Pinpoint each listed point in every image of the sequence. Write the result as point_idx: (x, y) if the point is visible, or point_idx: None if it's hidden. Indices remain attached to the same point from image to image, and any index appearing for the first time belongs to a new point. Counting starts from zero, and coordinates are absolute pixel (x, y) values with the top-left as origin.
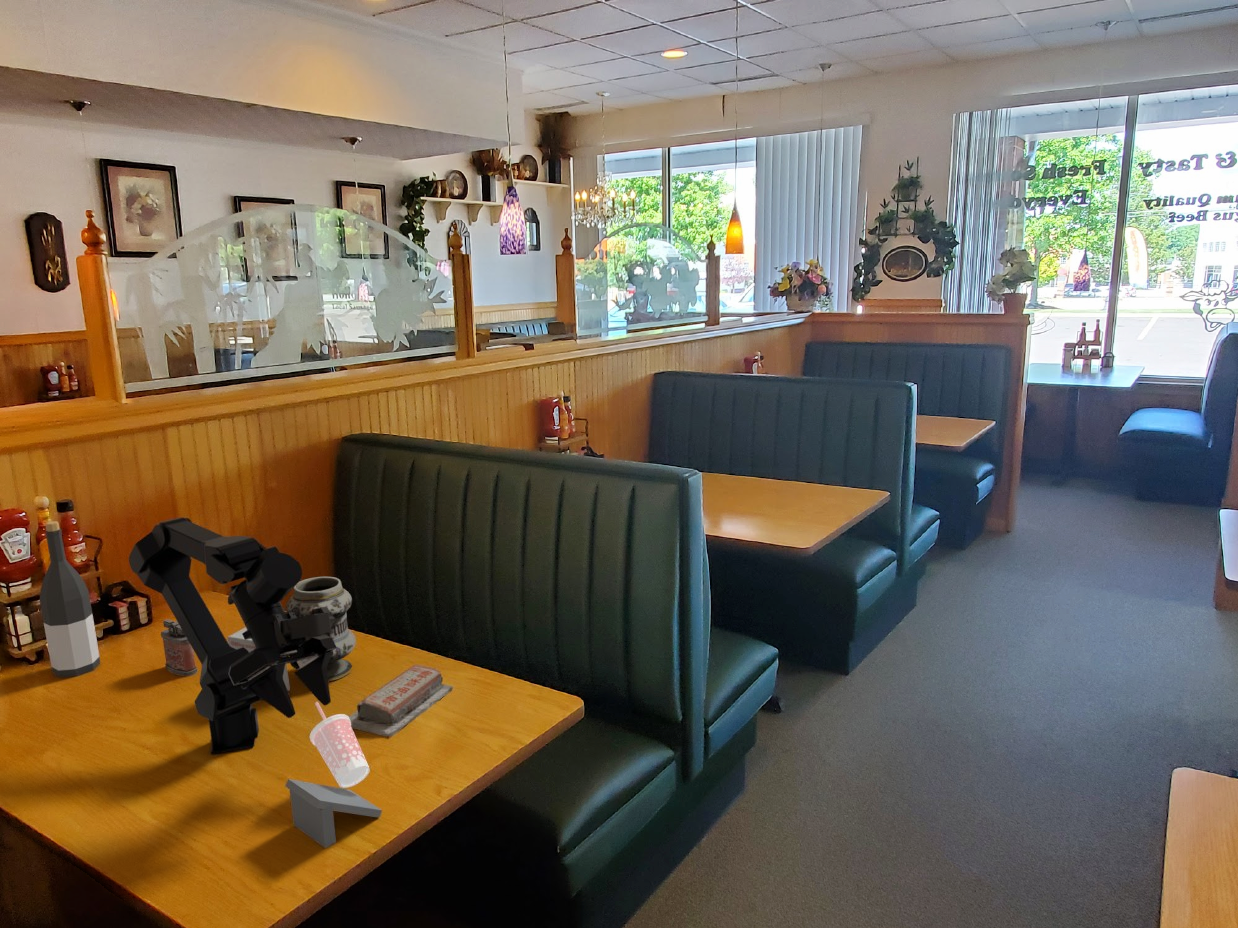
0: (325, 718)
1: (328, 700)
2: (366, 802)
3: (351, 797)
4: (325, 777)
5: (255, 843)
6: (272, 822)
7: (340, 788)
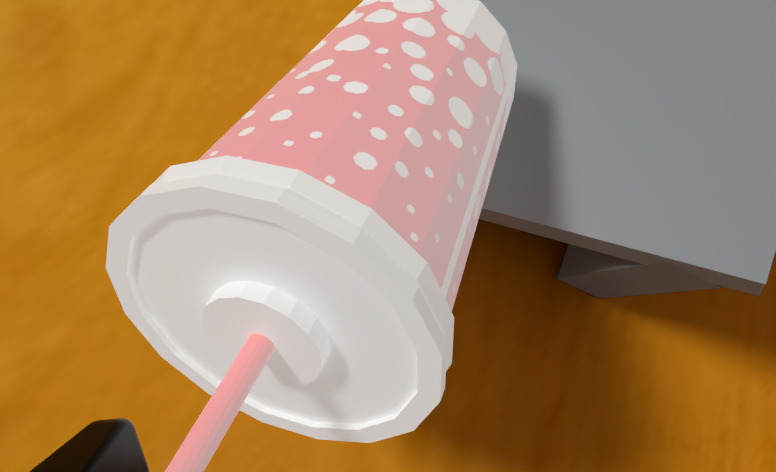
0: (219, 411)
1: (121, 435)
2: None
3: None
4: None
5: (731, 374)
6: (610, 404)
7: None
